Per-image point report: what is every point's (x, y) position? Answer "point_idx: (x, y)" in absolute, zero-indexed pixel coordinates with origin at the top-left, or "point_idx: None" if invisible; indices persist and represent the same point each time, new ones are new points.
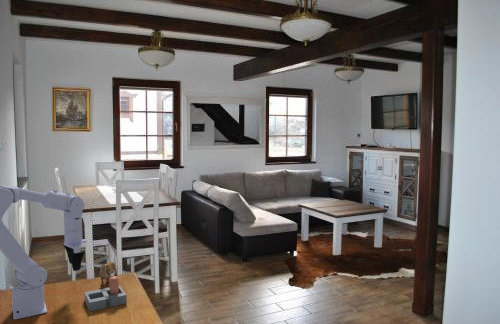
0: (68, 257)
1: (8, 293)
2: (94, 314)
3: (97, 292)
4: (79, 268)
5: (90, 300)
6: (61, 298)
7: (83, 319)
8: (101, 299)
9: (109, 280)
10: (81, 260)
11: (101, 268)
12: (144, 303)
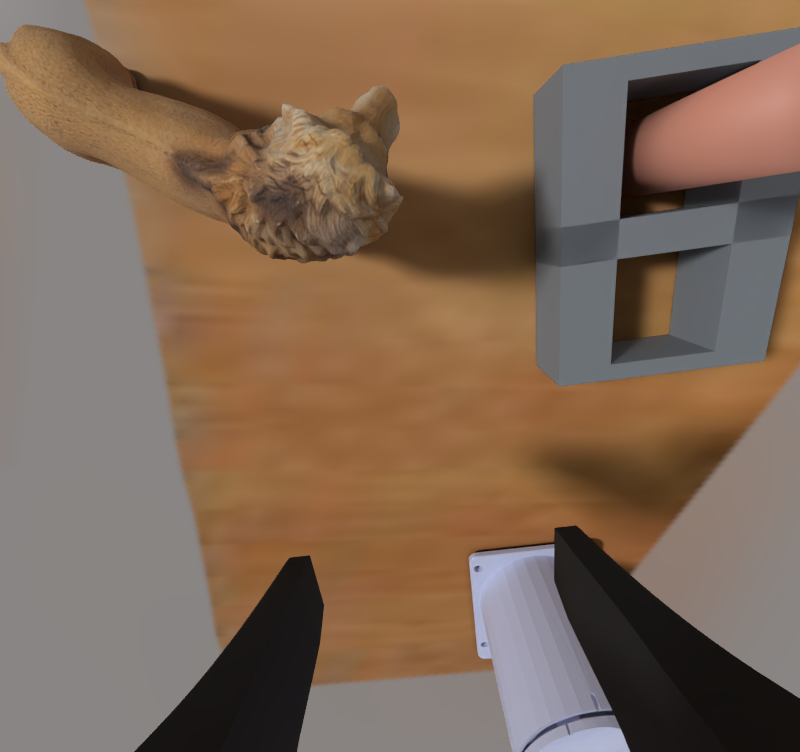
0: (303, 706)
1: None
2: None
3: (613, 293)
4: (588, 542)
5: (729, 351)
6: (438, 482)
7: (788, 379)
8: (770, 272)
9: (790, 172)
10: (700, 632)
11: (359, 240)
12: None
